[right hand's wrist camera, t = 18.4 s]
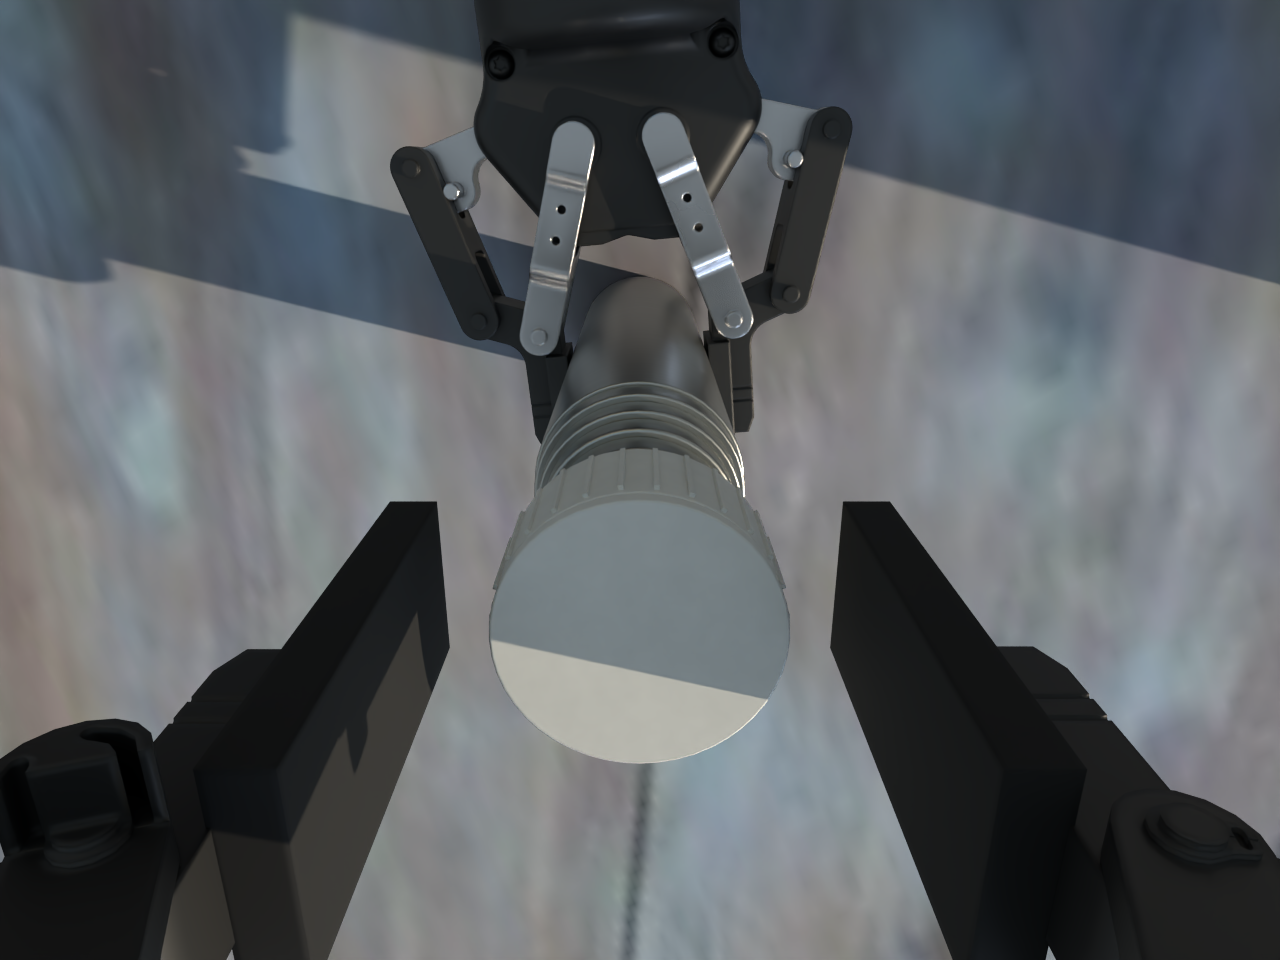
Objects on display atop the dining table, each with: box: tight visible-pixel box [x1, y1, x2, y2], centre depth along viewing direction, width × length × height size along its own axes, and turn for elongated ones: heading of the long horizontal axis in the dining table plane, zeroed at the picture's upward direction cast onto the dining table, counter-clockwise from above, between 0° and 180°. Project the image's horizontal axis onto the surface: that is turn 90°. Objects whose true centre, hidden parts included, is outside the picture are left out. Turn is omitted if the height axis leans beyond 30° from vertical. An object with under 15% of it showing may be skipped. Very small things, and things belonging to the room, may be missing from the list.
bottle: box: [534, 277, 745, 498], centre depth 24 cm, size 4×4×23 cm
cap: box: [489, 448, 790, 763], centre depth 13 cm, size 4×4×2 cm
